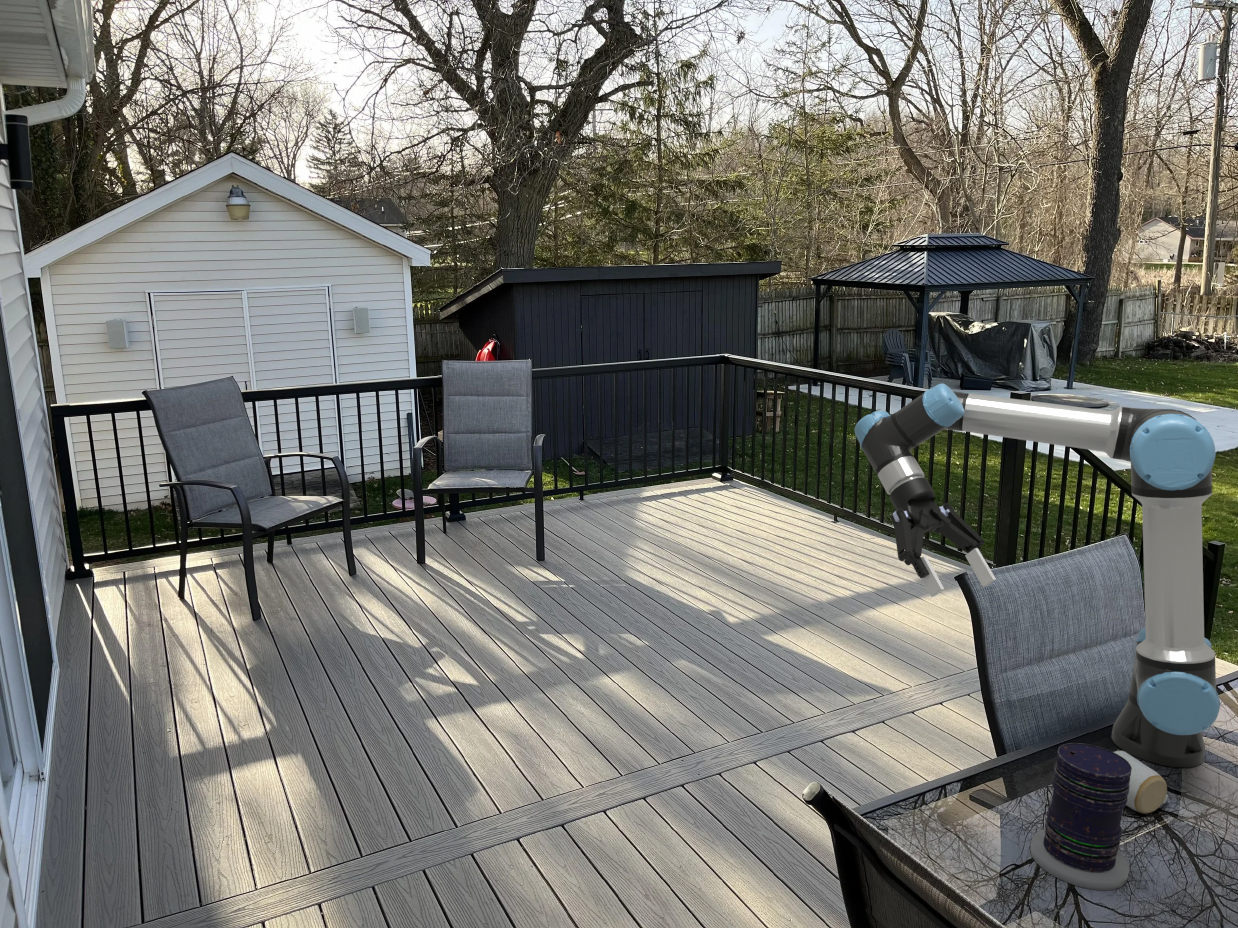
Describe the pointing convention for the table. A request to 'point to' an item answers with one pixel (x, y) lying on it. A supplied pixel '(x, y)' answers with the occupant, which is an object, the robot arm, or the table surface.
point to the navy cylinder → (1087, 807)
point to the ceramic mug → (1144, 786)
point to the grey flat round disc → (1076, 876)
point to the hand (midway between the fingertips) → (964, 588)
